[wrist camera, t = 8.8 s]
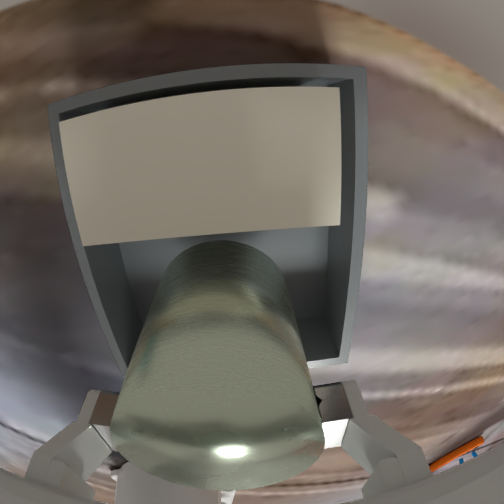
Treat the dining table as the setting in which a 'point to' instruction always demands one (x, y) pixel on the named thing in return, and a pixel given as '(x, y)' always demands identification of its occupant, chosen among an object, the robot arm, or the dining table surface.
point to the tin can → (219, 376)
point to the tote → (268, 241)
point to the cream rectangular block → (206, 164)
